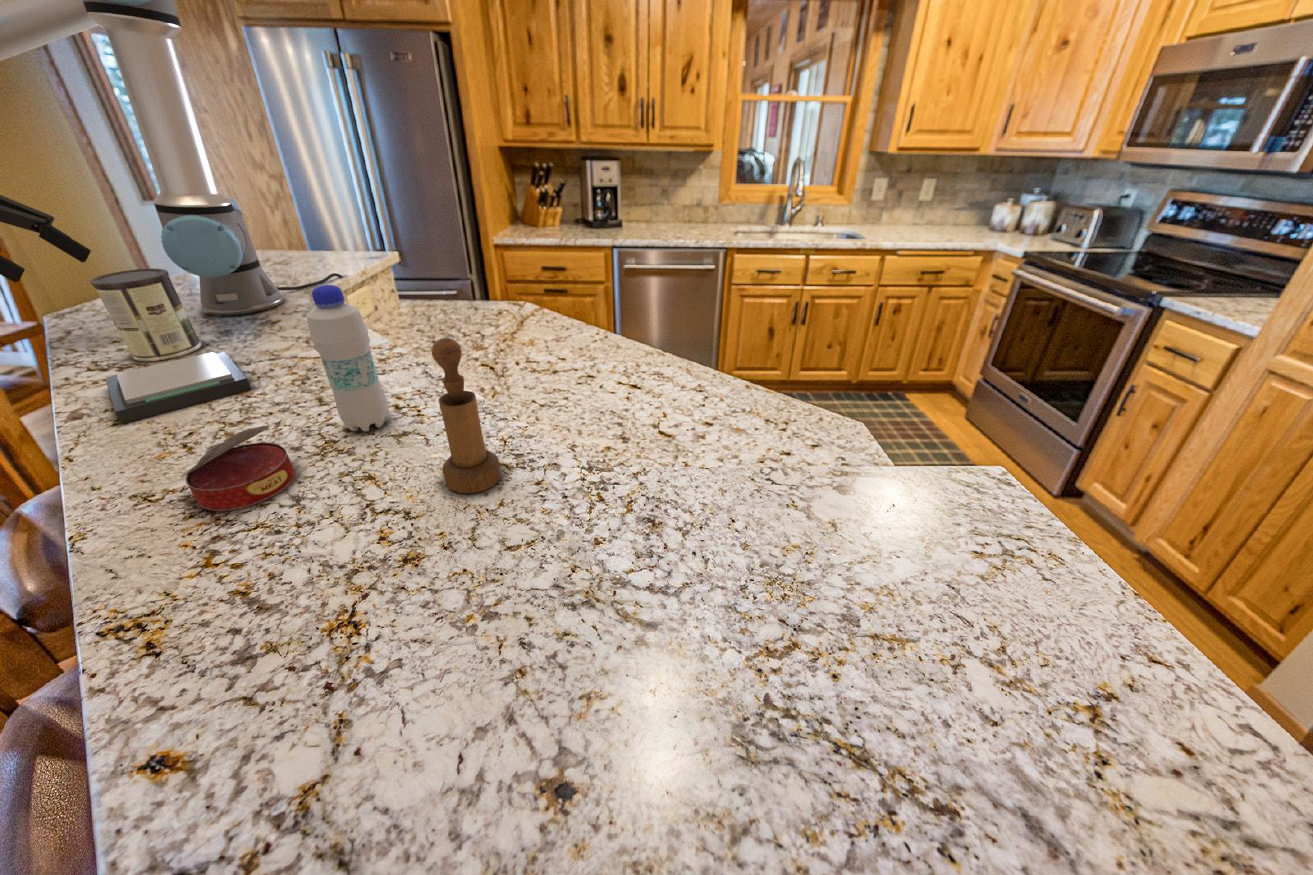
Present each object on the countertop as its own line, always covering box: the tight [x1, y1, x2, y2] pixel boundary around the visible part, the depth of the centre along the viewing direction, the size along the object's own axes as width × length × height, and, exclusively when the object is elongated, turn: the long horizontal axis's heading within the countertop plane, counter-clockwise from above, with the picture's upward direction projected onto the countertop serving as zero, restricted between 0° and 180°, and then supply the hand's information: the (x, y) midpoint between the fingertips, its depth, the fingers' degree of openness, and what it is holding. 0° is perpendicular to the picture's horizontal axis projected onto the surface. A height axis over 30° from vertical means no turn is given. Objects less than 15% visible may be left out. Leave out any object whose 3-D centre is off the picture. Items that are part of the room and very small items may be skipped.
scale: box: [104, 351, 252, 425], centre depth 85 cm, size 16×16×3 cm
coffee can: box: [89, 268, 202, 362], centre depth 96 cm, size 10×10×14 cm
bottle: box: [306, 284, 390, 432], centre depth 71 cm, size 7×7×20 cm
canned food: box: [179, 425, 296, 512], centre depth 62 cm, size 11×10×10 cm
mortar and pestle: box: [431, 337, 502, 494], centre depth 61 cm, size 7×6×18 cm
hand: (55, 265), depth 90 cm, fingers open, 13 cm apart
